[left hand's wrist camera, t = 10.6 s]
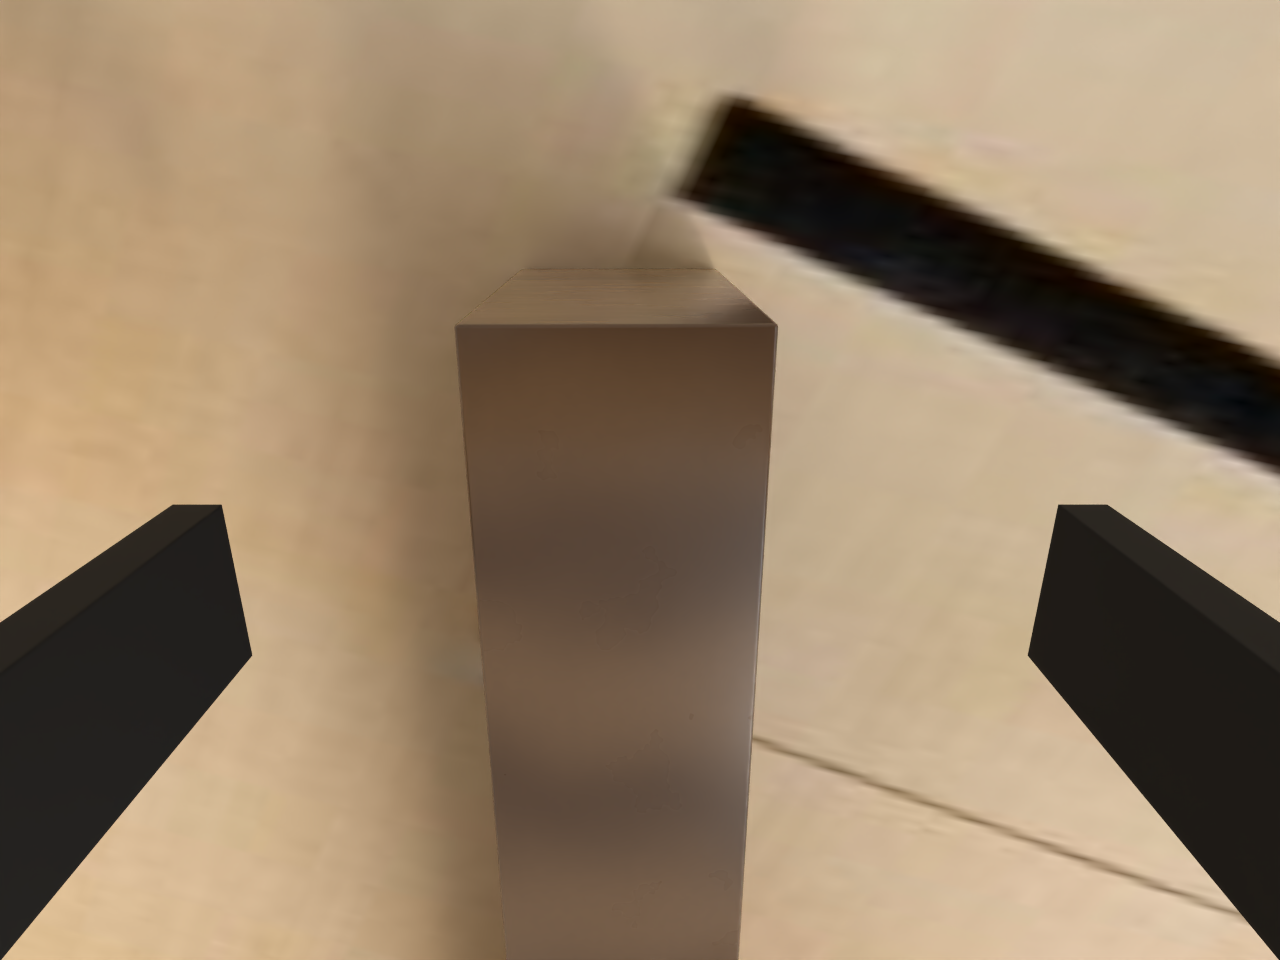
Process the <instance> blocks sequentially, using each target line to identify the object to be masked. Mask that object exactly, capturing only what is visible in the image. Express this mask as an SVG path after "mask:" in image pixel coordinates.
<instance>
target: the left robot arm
mask: <svg viewBox="0 0 1280 960" xmlns="http://www.w3.org/2000/svg"><path fill="white" fill-rule="evenodd" d="M251 656H252V652H251V647H250V642H249V637H248V632H247V627H246V622H245V617H244V612H243V608H242V603H241V598H240V593H239V588H238V583H237V578H236V573H235V568H234V563H233V558H232V553H231V548H230V544H229V539H228V534H227V529H226V524H225V519H224V514H223V509H222V505H172V506H170V507H169V508H167V509H166V510H164V511H163V512H161V513H160V514H158V515H157V516H156V517H154V518H153V519H151V520H150V521H148V522H147V523H145V524H144V525H142V526H141V527H139V528H138V529H137V530H135V531H134V532H132V533H131V534H129V535H128V536H126V537H125V538H123V539H122V540H120V541H119V542H118V543H116V544H115V545H113V546H112V547H110V548H109V549H107V550H106V551H104V552H103V553H101V554H100V555H98V556H97V557H96V558H94V559H93V560H91V561H90V562H88V563H87V564H85V565H84V566H82V567H81V568H79V569H78V570H77V571H75V572H74V573H72V574H71V575H69V576H68V577H66V578H65V579H63V580H62V581H60V582H59V583H58V584H56V585H55V586H53V587H52V588H50V589H49V590H47V591H46V592H44V593H43V594H41V595H40V596H38V597H37V598H36V599H34V600H33V601H31V602H30V603H28V604H27V605H25V606H24V607H22V608H21V609H19V610H18V611H17V612H15V613H14V614H12V615H11V616H9V617H8V618H6V619H5V620H3V621H2V622H0V960H1V959H2V958H3V957H4V956H5V954H6V953H7V952H8V951H9V950H10V948H11V947H12V946H13V945H14V944H15V942H16V941H17V940H18V939H19V937H20V936H21V935H22V934H23V933H24V931H25V930H26V929H27V928H28V927H29V925H30V924H31V923H32V922H33V921H34V919H35V918H36V917H37V916H38V914H39V913H40V912H41V911H42V910H43V908H44V907H45V906H46V905H47V904H48V902H49V901H50V900H51V899H52V897H53V896H54V895H55V894H56V893H57V891H58V890H59V889H60V888H61V887H62V885H63V884H64V883H65V882H66V881H67V879H68V878H69V877H70V876H71V874H72V873H73V872H74V871H75V870H76V868H77V867H78V866H79V865H80V864H81V862H82V861H83V860H84V859H85V857H86V856H87V855H88V854H89V853H90V851H91V850H92V849H93V848H94V847H95V845H96V844H97V843H98V842H99V841H100V839H101V838H102V837H103V836H104V834H105V833H106V832H107V831H108V830H109V828H110V827H111V826H112V825H113V824H114V822H115V821H116V820H117V819H118V817H119V816H120V815H121V814H122V813H123V811H124V810H125V809H126V808H127V807H128V805H129V804H130V803H131V802H132V801H133V799H134V798H135V797H136V796H137V794H138V793H139V792H140V791H141V790H142V788H143V787H144V786H145V785H146V784H147V782H148V781H149V780H150V779H151V778H152V776H153V775H154V774H155V773H156V771H157V770H158V769H159V768H160V767H161V765H162V764H163V763H164V762H165V761H166V759H167V758H168V757H169V756H170V754H171V753H172V752H173V751H174V750H175V748H176V747H177V746H178V745H179V744H180V742H181V741H182V740H183V739H184V738H185V736H186V735H187V734H188V733H189V731H190V730H191V729H192V728H193V727H194V725H195V724H196V723H197V722H198V721H199V719H200V718H201V717H202V716H203V714H204V713H205V712H206V711H207V710H208V708H209V707H210V706H211V705H212V704H213V702H214V701H215V700H216V699H217V698H218V696H219V695H220V694H221V693H222V691H223V690H224V689H225V688H226V687H227V685H228V684H229V683H230V682H231V681H232V679H233V678H234V677H235V676H236V674H237V673H238V672H239V671H240V670H241V668H242V667H243V666H244V665H245V664H246V662H247V661H248V660H249V659H250V658H251ZM1028 656H1029V658H1030V659H1031V660H1032V661H1033V662H1034V664H1035V665H1036V666H1037V667H1038V668H1039V670H1040V671H1041V672H1042V673H1043V674H1044V676H1045V677H1046V678H1047V679H1048V681H1049V682H1050V683H1051V684H1052V685H1053V687H1054V688H1055V689H1056V690H1057V691H1058V693H1059V694H1060V695H1061V696H1062V698H1063V699H1064V700H1065V701H1066V702H1067V704H1068V705H1069V706H1070V707H1071V708H1072V710H1073V711H1074V712H1075V713H1076V714H1077V716H1078V717H1079V718H1080V719H1081V721H1082V722H1083V723H1084V724H1085V725H1086V727H1087V728H1088V729H1089V730H1090V731H1091V733H1092V734H1093V735H1094V736H1095V738H1096V739H1097V740H1098V741H1099V742H1100V744H1101V745H1102V746H1103V747H1104V748H1105V750H1106V751H1107V752H1108V753H1109V754H1110V756H1111V757H1112V758H1113V759H1114V761H1115V762H1116V763H1117V764H1118V765H1119V767H1120V768H1121V769H1122V770H1123V771H1124V773H1125V774H1126V775H1127V776H1128V778H1129V779H1130V780H1131V781H1132V782H1133V784H1134V785H1135V786H1136V787H1137V788H1138V790H1139V791H1140V792H1141V793H1142V794H1143V796H1144V797H1145V798H1146V799H1147V801H1148V802H1149V803H1150V804H1151V805H1152V807H1153V808H1154V809H1155V810H1156V811H1157V813H1158V814H1159V815H1160V816H1161V817H1162V819H1163V820H1164V821H1165V822H1166V824H1167V825H1168V826H1169V827H1170V828H1171V830H1172V831H1173V832H1174V833H1175V834H1176V836H1177V837H1178V838H1179V839H1180V841H1181V842H1182V843H1183V844H1184V845H1185V847H1186V848H1187V849H1188V850H1189V851H1190V853H1191V854H1192V855H1193V856H1194V857H1195V859H1196V860H1197V861H1198V862H1199V864H1200V865H1201V866H1202V867H1203V868H1204V870H1205V871H1206V872H1207V873H1208V874H1209V876H1210V877H1211V878H1212V879H1213V881H1214V882H1215V883H1216V884H1217V885H1218V887H1219V888H1220V889H1221V890H1222V891H1223V893H1224V894H1225V895H1226V896H1227V897H1228V899H1229V900H1230V901H1231V902H1232V904H1233V905H1234V906H1235V907H1236V908H1237V910H1238V911H1239V912H1240V913H1241V914H1242V916H1243V917H1244V918H1245V919H1246V921H1247V922H1248V923H1249V924H1250V925H1251V927H1252V928H1253V929H1254V930H1255V931H1256V933H1257V934H1258V935H1259V936H1260V937H1261V939H1262V940H1263V941H1264V942H1265V944H1266V945H1267V946H1268V947H1269V948H1270V950H1271V951H1272V952H1273V953H1274V954H1275V956H1276V957H1277V958H1278V959H1279V960H1280V622H1278V621H1277V620H1275V619H1274V618H1272V617H1271V616H1269V615H1268V614H1266V613H1265V612H1263V611H1262V610H1261V609H1259V608H1258V607H1256V606H1255V605H1253V604H1252V603H1250V602H1249V601H1247V600H1246V599H1244V598H1243V597H1242V596H1240V595H1239V594H1237V593H1236V592H1234V591H1233V590H1231V589H1230V588H1228V587H1227V586H1225V585H1224V584H1222V583H1221V582H1220V581H1218V580H1217V579H1215V578H1214V577H1212V576H1211V575H1209V574H1208V573H1206V572H1205V571H1203V570H1202V569H1201V568H1199V567H1198V566H1196V565H1195V564H1193V563H1192V562H1190V561H1189V560H1187V559H1186V558H1184V557H1183V556H1182V555H1180V554H1179V553H1177V552H1176V551H1174V550H1173V549H1171V548H1170V547H1168V546H1167V545H1165V544H1164V543H1162V542H1161V541H1160V540H1158V539H1157V538H1155V537H1154V536H1152V535H1151V534H1149V533H1148V532H1146V531H1145V530H1143V529H1142V528H1141V527H1139V526H1138V525H1136V524H1135V523H1133V522H1132V521H1130V520H1129V519H1127V518H1126V517H1124V516H1123V515H1122V514H1120V513H1119V512H1117V511H1116V510H1114V509H1113V508H1111V507H1110V506H1108V505H1058V509H1057V514H1056V519H1055V524H1054V529H1053V534H1052V539H1051V544H1050V548H1049V553H1048V558H1047V563H1046V568H1045V573H1044V578H1043V583H1042V588H1041V593H1040V598H1039V603H1038V608H1037V612H1036V617H1035V622H1034V627H1033V632H1032V637H1031V642H1030V647H1029V652H1028Z"/></svg>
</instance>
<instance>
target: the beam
mask: <svg viewBox="0 0 1280 960" xmlns="http://www.w3.org/2000/svg"><path fill="white" fill-rule="evenodd" d="M777 335H778V326H777V324H776V323H775V322H774V321H773V320H772V319H771V318H769V317H768V316H767V315H766V314H765V313H764V312H763V311H762V310H761V309H759V308H758V307H757V306H756V305H755V304H754V303H753V302H752V301H751V300H749V299H748V298H747V297H746V296H745V295H744V294H743V293H742V292H740V291H739V290H738V289H737V288H736V287H735V286H734V285H733V284H732V283H730V282H729V281H728V280H727V279H726V278H725V277H724V276H723V275H722V274H720V273H719V272H718V271H717V270H716V269H522V270H520V271H519V272H518V273H517V274H516V275H514V276H513V277H512V278H511V279H510V280H509V281H507V282H506V283H505V284H504V285H503V286H501V287H500V288H499V289H498V290H497V291H496V292H494V293H493V294H492V295H491V296H490V297H488V298H487V299H486V300H485V301H484V302H482V303H481V304H480V305H479V306H478V307H477V308H475V309H474V310H473V311H472V312H471V313H469V314H468V315H467V316H466V317H465V318H463V319H462V320H461V321H460V322H459V323H458V324H456V325H455V340H456V352H457V364H458V376H459V389H460V401H461V413H462V425H463V437H464V449H465V461H466V474H467V486H468V498H469V510H470V522H471V534H472V546H473V559H474V571H475V583H476V595H477V607H478V619H479V632H480V644H481V656H482V668H483V680H484V692H485V704H486V717H487V729H488V741H489V753H490V765H491V777H492V790H493V802H494V814H495V826H496V838H497V850H498V862H499V875H500V887H501V899H502V911H503V923H504V935H505V947H506V960H739V944H740V928H741V912H742V896H743V880H744V864H745V848H746V831H747V815H748V799H749V783H750V767H751V751H752V735H753V719H754V703H755V687H756V671H757V655H758V639H759V623H760V607H761V591H762V575H763V559H764V543H765V527H766V511H767V495H768V479H769V463H770V447H771V431H772V415H773V399H774V383H775V367H776V351H777Z"/></svg>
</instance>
